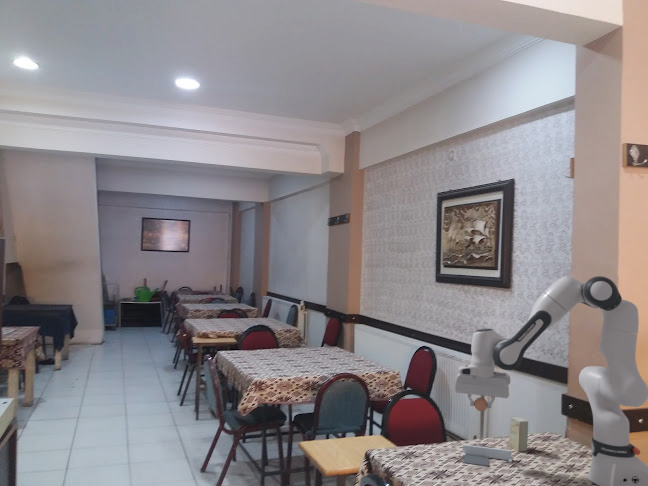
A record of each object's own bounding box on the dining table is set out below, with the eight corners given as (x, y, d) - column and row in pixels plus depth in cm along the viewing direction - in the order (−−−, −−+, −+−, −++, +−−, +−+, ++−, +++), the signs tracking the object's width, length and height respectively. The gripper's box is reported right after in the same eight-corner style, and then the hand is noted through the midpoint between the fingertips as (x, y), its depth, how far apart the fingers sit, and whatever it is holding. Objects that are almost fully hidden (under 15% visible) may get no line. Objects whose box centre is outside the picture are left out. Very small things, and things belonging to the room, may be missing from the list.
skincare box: (508, 446, 213) (509, 416, 214) (517, 445, 215) (518, 416, 215) (518, 452, 207) (519, 421, 208) (528, 451, 209) (528, 420, 209)
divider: (510, 457, 200) (510, 448, 201) (511, 462, 196) (511, 453, 196) (462, 451, 205) (462, 442, 205) (462, 456, 200) (462, 446, 200)
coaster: (488, 458, 199) (488, 457, 199) (489, 466, 191) (489, 465, 191) (464, 454, 202) (464, 454, 202) (464, 463, 193) (464, 462, 193)
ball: (487, 410, 201) (487, 397, 201) (487, 413, 196) (488, 400, 196) (473, 408, 202) (474, 395, 202) (473, 411, 197) (474, 398, 198)
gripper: (510, 372, 200) (508, 408, 199) (455, 366, 206) (454, 401, 205) (511, 375, 194) (509, 412, 193) (455, 369, 200) (453, 405, 199)
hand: (480, 406), depth 199 cm, fingers closed on ball, 5 cm apart
